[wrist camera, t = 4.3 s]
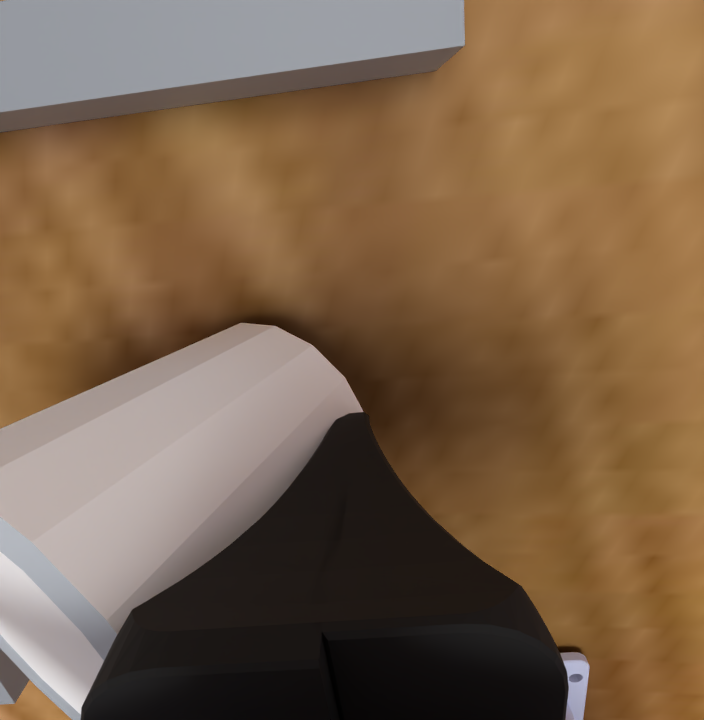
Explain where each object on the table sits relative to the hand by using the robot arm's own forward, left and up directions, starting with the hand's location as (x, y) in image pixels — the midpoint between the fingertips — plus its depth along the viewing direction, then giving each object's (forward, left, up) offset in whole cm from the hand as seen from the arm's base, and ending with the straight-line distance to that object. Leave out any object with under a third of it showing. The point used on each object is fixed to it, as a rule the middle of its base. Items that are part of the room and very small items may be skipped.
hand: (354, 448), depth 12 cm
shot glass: (0, +2, -2) cm, 3 cm away
